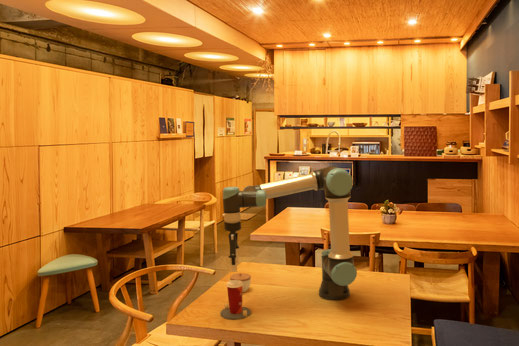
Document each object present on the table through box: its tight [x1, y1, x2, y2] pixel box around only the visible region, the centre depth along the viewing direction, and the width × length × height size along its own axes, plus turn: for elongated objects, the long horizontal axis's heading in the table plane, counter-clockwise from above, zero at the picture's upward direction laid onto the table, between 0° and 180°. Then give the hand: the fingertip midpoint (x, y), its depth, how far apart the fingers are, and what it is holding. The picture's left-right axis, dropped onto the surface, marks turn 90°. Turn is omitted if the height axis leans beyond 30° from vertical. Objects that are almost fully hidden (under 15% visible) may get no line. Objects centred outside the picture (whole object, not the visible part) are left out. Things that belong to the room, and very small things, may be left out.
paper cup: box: [226, 280, 243, 314], centre depth 233 cm, size 8×8×14 cm
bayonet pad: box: [220, 303, 252, 321], centre depth 233 cm, size 14×14×3 cm
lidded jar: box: [229, 272, 252, 294], centre depth 264 cm, size 11×11×9 cm
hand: (234, 267), depth 231 cm, fingers open, 13 cm apart
